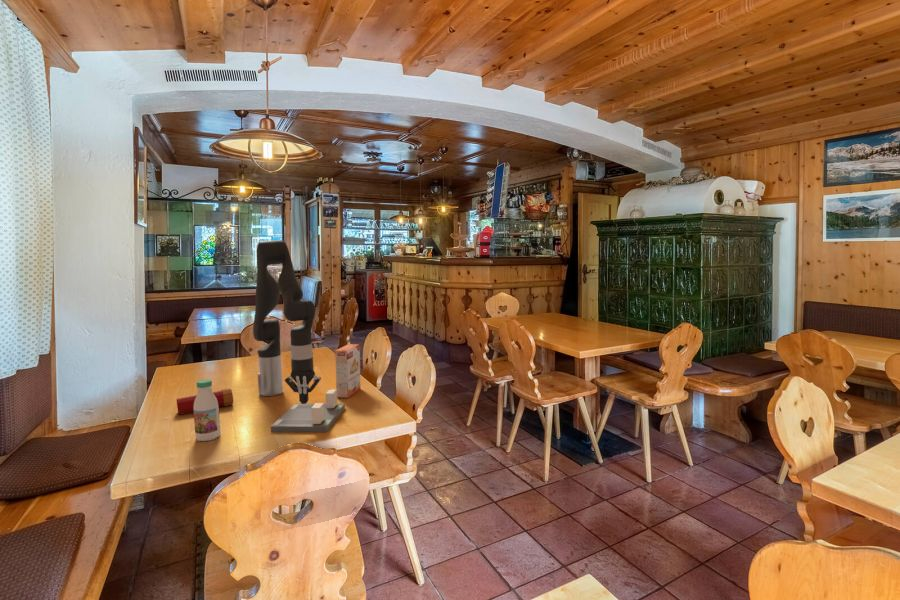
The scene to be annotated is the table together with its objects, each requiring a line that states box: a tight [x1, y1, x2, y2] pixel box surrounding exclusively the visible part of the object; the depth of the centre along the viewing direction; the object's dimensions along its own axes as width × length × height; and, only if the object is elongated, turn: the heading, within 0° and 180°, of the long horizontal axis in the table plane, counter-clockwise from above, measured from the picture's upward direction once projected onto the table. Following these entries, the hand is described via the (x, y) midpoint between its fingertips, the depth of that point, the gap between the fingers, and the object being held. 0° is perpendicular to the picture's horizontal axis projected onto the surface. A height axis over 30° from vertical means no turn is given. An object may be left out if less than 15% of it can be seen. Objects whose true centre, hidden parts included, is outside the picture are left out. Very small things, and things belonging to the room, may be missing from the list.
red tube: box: [176, 388, 234, 415], centre depth 192 cm, size 7×20×7 cm, turn 123°
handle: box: [325, 388, 338, 408], centre depth 187 cm, size 3×5×6 cm, turn 177°
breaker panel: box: [270, 402, 346, 433], centre depth 180 cm, size 20×24×2 cm
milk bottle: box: [193, 379, 221, 442], centre depth 163 cm, size 8×8×20 cm
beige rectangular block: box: [311, 402, 325, 424], centre depth 171 cm, size 3×5×6 cm, turn 177°
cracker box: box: [334, 343, 361, 399], centre depth 209 cm, size 14×6×21 cm, turn 168°
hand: (304, 403), depth 171 cm, fingers closed
